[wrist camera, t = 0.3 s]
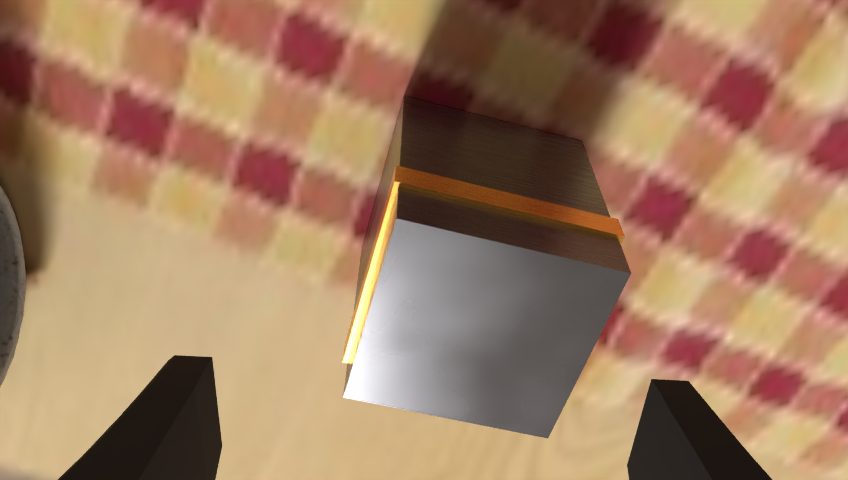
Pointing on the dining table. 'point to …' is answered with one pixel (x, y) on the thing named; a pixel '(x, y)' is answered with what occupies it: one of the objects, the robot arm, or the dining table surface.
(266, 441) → the dining table surface
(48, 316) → the dining table surface
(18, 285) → the ceramic mug
